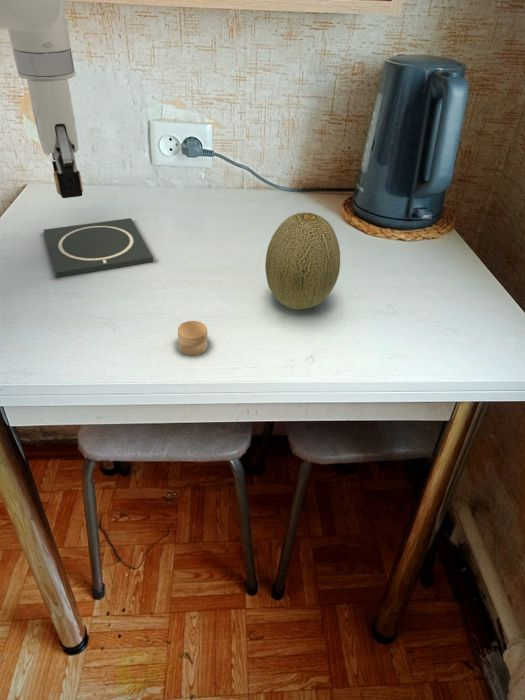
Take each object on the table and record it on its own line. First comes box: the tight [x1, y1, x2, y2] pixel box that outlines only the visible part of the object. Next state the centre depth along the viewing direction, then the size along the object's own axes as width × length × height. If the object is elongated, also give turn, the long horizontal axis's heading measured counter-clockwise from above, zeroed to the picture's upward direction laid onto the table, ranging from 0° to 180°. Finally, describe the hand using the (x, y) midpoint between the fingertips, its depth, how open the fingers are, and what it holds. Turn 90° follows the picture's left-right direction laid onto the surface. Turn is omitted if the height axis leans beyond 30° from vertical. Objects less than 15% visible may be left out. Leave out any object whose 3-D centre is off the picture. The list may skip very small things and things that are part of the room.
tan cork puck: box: [53, 170, 84, 196], centre depth 81 cm, size 4×4×3 cm
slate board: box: [43, 217, 154, 278], centre depth 91 cm, size 16×16×1 cm
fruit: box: [264, 212, 341, 310], centre depth 76 cm, size 11×11×15 cm
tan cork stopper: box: [177, 320, 208, 356], centre depth 70 cm, size 4×4×3 cm
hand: (69, 189), depth 82 cm, fingers closed on tan cork puck, 4 cm apart
